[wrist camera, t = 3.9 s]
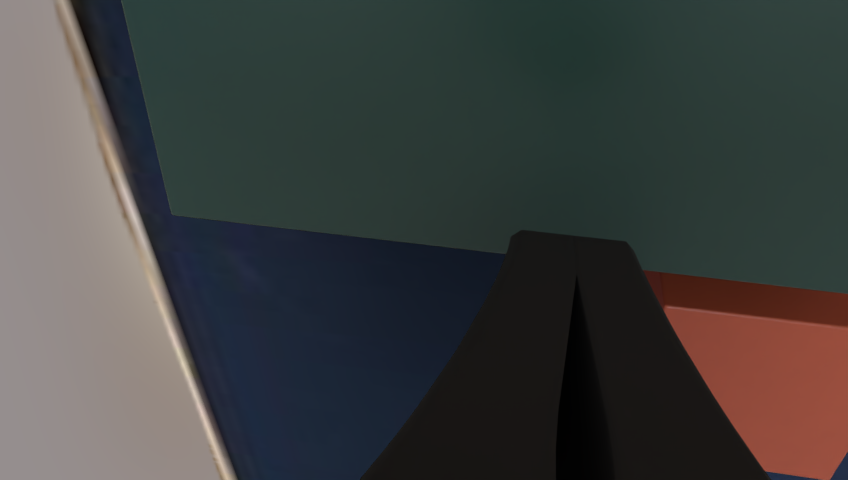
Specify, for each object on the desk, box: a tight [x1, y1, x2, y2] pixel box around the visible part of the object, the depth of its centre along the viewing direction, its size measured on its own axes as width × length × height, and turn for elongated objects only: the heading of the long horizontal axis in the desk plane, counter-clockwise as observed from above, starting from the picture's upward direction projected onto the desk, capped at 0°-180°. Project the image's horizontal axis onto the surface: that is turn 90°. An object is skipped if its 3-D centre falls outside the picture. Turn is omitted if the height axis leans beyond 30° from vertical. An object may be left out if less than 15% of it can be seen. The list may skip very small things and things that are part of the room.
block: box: [643, 270, 848, 480], centre depth 18 cm, size 5×5×5 cm
